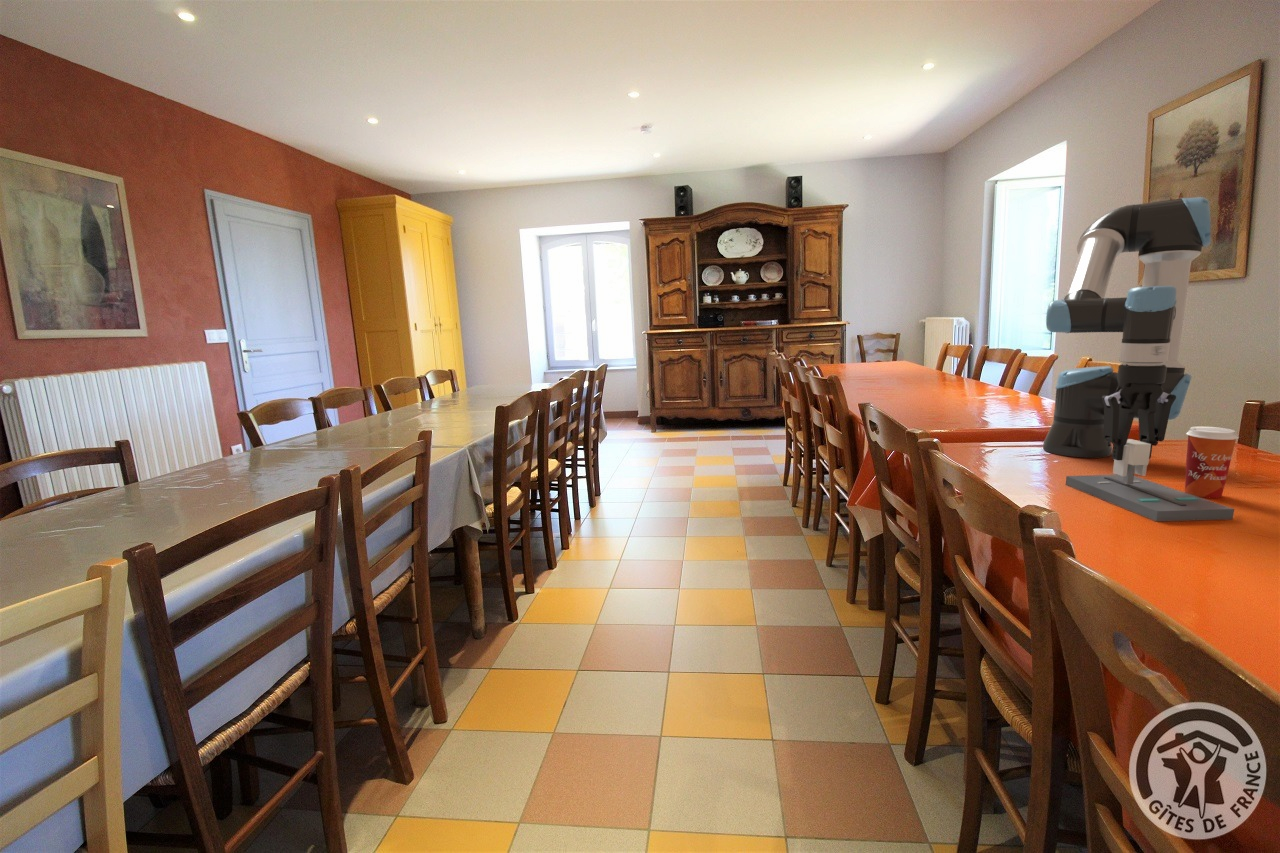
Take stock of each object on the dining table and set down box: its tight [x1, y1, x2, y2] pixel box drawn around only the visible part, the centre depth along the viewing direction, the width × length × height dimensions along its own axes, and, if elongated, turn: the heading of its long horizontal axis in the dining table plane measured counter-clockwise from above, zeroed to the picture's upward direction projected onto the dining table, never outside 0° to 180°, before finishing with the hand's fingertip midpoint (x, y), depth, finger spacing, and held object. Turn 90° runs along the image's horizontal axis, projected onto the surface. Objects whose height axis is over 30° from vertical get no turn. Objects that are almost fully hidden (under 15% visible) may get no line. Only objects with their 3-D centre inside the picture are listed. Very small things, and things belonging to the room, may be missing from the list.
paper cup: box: [1184, 426, 1240, 499], centre depth 120 cm, size 8×8×14 cm
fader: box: [1123, 438, 1151, 484], centre depth 121 cm, size 5×3×9 cm, turn 179°
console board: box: [1065, 474, 1235, 522], centre depth 119 cm, size 24×14×2 cm, turn 179°
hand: (1129, 474), depth 122 cm, fingers closed on fader, 3 cm apart
